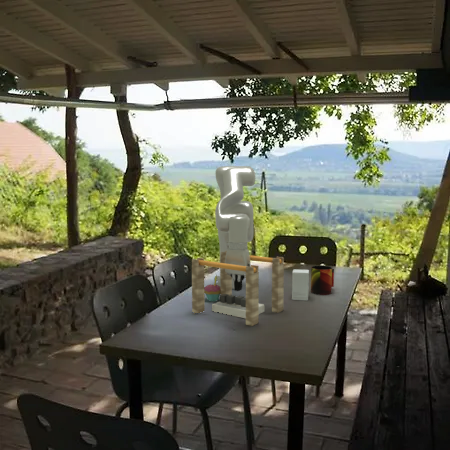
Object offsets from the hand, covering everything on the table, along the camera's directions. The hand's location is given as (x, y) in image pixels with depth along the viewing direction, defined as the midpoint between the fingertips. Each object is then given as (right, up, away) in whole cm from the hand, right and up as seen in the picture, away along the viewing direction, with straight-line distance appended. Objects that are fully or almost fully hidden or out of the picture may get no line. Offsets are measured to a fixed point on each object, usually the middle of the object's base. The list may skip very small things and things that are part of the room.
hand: (238, 290), depth 203 cm
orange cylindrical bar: (+6, +13, +7) cm, 16 cm away
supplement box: (+29, -7, +21) cm, 36 cm away
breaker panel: (0, -9, +1) cm, 9 cm away
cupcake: (-11, -7, +18) cm, 23 cm away
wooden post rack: (0, -9, +1) cm, 9 cm away
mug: (+41, -5, +33) cm, 53 cm away
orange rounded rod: (-6, +11, -10) cm, 16 cm away
